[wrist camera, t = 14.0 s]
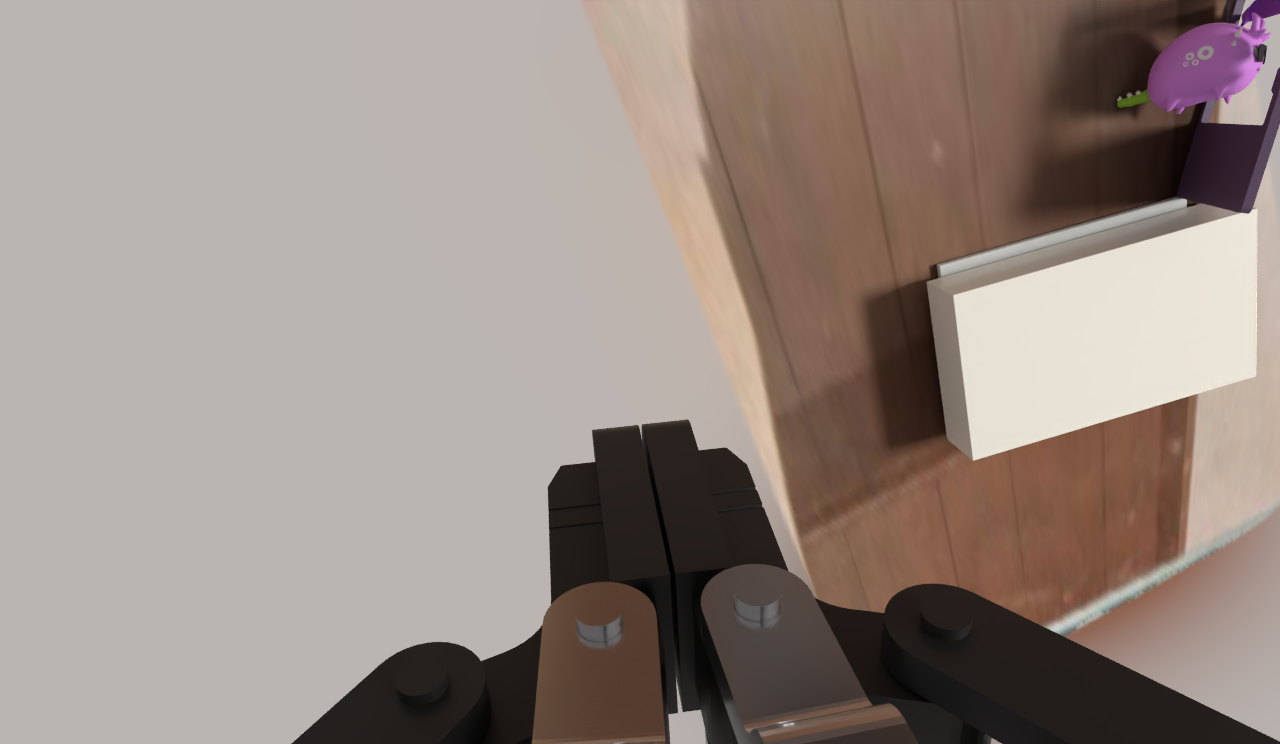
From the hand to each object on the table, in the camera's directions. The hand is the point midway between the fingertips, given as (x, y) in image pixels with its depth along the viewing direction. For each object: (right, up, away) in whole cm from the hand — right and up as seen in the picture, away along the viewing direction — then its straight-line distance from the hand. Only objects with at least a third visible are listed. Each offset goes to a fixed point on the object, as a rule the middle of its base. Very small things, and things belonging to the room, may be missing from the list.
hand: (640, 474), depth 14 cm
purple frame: (+23, +14, +26) cm, 38 cm away
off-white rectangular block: (+14, +2, +27) cm, 30 cm away
